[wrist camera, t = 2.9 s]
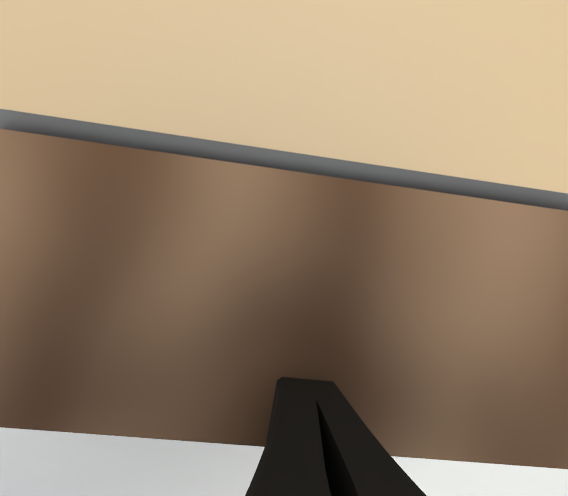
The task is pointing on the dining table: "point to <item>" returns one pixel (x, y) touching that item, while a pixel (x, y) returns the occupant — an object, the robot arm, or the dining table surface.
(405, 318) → the walnut plank
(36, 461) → the dining table surface
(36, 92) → the base board
